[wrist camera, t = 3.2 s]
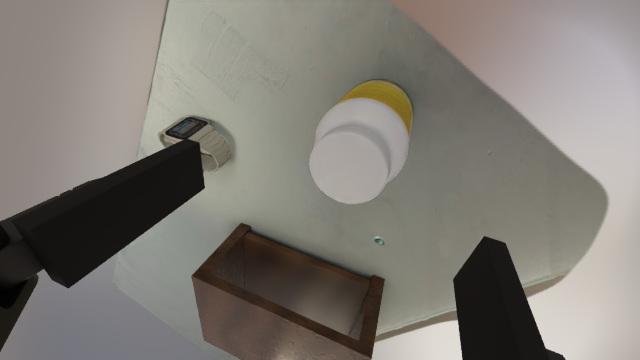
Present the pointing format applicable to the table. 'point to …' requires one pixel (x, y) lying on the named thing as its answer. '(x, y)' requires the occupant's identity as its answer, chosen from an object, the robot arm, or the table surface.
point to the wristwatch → (199, 140)
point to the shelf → (284, 303)
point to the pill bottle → (362, 142)
